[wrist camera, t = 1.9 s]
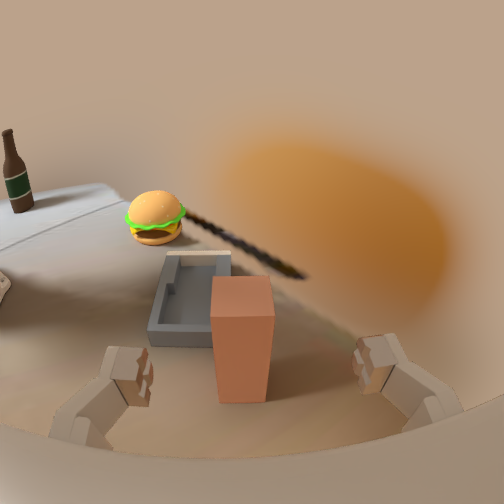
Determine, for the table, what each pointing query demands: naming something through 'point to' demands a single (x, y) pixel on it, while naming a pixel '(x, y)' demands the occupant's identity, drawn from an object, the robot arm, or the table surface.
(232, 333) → the post
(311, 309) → the table surface
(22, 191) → the beer bottle
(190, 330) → the slot board
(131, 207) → the hamburger
